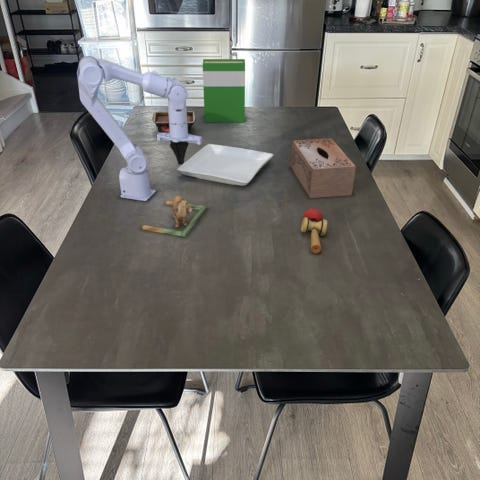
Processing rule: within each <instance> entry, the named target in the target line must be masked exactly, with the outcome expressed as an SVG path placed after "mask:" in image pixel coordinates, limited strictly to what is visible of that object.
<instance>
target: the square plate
mask: <svg viewBox="0 0 480 480" xmlns="http://www.w3.org/2000/svg"><path fill="white" fill-rule="evenodd" d="M273 157H274V154H273V153H271V152H270V153H269V152H264V151H259V150H255V149H250V148H249V149H248V148H242V147H236V146H231V145H230V146H229V145H220V144H213V143H207V144H206V145H204V146H203V147H202V148H200V149H199V150H198V151H197V152H195V153H194V154H193V155H191V157H189V158H188V159H187V160H186V161H184V163H183V164H182V165H180V166H179V167H178V168H177V169H176V170H177V172H179V173H180V174H182V175H184V176H188V177H192V178H196V179H199V180H204V181H210V182H216V183H222V184H227V185H232V186H240V187H244V186H247V185H248V184H249V183H250V182H251V181H252V180H253V179H254V177H255V176H256V175H257V174H258V173H259V172H260V170H261V169H263V167H265V166H266V165H267V164H268V163H269V162H270V161H271V159H272V158H273Z"/></svg>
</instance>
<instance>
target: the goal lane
mask: <svg viewBox="0 0 480 480" xmlns="http://www.w3.org/2000/svg"><path fill="white" fill-rule="evenodd" d="M173 201H174V200H173ZM173 201H172V200H166V201H165V205H166V206H171V207H173ZM187 204H188V205H189V206H190V207H192V208H193V210H196V211H198V212H197V213H196V214H195V215H194V217H193V218H192V219H191V220H190V221H189V222H188V224H187V225H185V228H184V229H183V230H176V229H171V228H164V227H158V226H153V225H146V224H143V225H142V227H141V228H142V230H143V231H147V232H153V233H154V232H155V233H160V234H165V235H172V236H178V237H184V238H185V237H186V236H187V235H188V233H190V231H191V230H192V228H193V227H194V226H195V225H196V223H197V222H198V221H199V220H200V218H201V217H202V216H203V215H204V213H206V211H207V210H208V208H207V205H199V204H192V203H187Z"/></svg>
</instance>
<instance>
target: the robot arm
mask: <svg viewBox="0 0 480 480" xmlns="http://www.w3.org/2000/svg"><path fill="white" fill-rule="evenodd" d="M76 75H77V83H78V92H79V94H78V95H79V100H80V102H81V104H82V105H83V106H84V108H85V109H86V111H88V113H89V114H90V115H91V116H92V118H93V119H94V120H95V122H96V123H97V124H98V125H99V126H100V127H101V129H102V130H103V131H104V133H105V134H106V135H107V136H108V138H109V139H110V140H111V142H112V143H113V144H114V145H115V146H116V147H117V149H118V150H119V152H120V153H121V155H122V157H123V159H124V160H125V161H126V163H127V164H126V167H125V166H124V167H122V168H121V169H120V171H119V176H118V180H119V187H120V193H121V194H120V198H122V199H128V200H136V201H142V202H147V201H148V200H149V199H150V198H151V197H152V196H153V195H154V194H155V193H156V192H157V190H156V189H152V188H151V178H150V169H149V162H148V159H147V157H146V155H145V151H144V149H143V147H142V146H140V145H138V144H136V143H135V142H134V140H133V139H131V138H130V136H129V135H128V134H127V133H126V132H125V130H124V129H123V127H122V126H121V125H120V124H119V122H118V121H117V120H116V118H115V117H114V116H113V114H112V113H111V112H110V110H108V108H107V107H106V106H105V104H104V103H103V102H102V100H100V98H99V96H98V94H99V89H100V86H101V85H102V83H103V81H104V82H105V83H108V82H110V81H112V80H114V79H115V80H119V81H122V82H127V83H130V84H134V85H137V86H140V87H141V89H142V90H143V92H144V93H148V94H151V95H154V96H157V97H160V98H163V99H166V98H167V105H168V106H167V112H168V115H169V127H170V132H167V133H159V132H158V133H157V134H156V140H157V141H159V142H161V141H167V142H170V143H169V147H170V150H172V152H173V155H174V156H175V158H176V162H177V164H178V166H179V165H180V166H181V165H182V164H184V163H185V157H186V152H187V150H188V146H189V145H190V144H196V145H198V146H200V145H202V143H203V136H199V135H195V134H191V133H188V125H187V111H188V110H187V109H188V108H187V99H188V96H189V93H188V90H187V89H186V87H185V85H184V84H183V82H182V81H180V80H179V79H177V78H176V77H171V76H168V77H167V76H165V75H164V76H163V75H161V74H158V72H157V71H156V70H152V71H147V72H144V73H141V72H138V71H136V70H134V69H130V68H128V67H125V66H122V65H120V64H117V63H116V62H112V61H109V60H107V59H105V58H100V57H98V58H96V57H95V56H92V55H85V56H83V57H81V59H80V60H79V62H78V66H77V71H76Z"/></svg>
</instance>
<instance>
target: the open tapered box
mask: <svg viewBox="0 0 480 480" xmlns="http://www.w3.org/2000/svg"><path fill="white" fill-rule="evenodd" d="M196 116H197V115H196V114H195V111H192V110H191V111H189V110H187V125H188V134H190V133H189V132H190V131H191V129H192V127H193V125H194V124H195V123H196V121H197V119H196V118H197V117H196ZM151 119H152V122H153V123H154V124H155V127H156V128H157V132H158V133H170V127H169V115H168V111H156V112H154V113H153V114H152V117H151Z"/></svg>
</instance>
